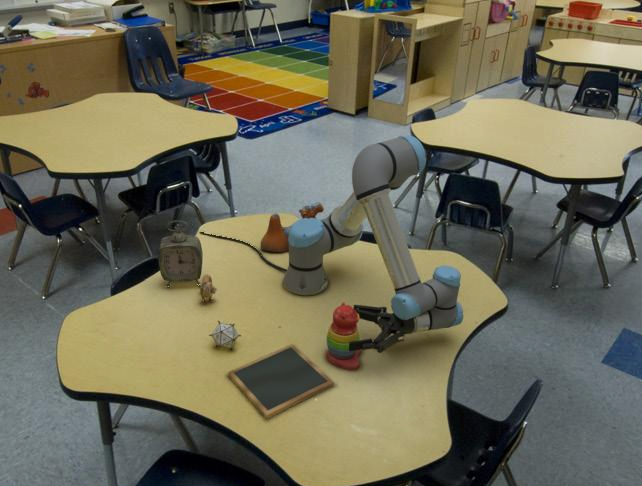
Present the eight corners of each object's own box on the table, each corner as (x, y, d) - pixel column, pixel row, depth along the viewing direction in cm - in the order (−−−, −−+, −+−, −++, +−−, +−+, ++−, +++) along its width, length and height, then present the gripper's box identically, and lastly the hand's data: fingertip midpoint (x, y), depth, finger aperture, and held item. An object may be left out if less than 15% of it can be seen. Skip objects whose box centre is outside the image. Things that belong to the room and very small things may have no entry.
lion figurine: (218, 307, 194) (217, 285, 189) (202, 310, 193) (200, 287, 188) (212, 284, 206) (210, 262, 202) (197, 286, 205) (195, 264, 201)
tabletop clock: (162, 291, 203) (153, 227, 190) (164, 277, 211) (156, 214, 198) (204, 289, 204) (198, 225, 191) (205, 275, 211) (199, 213, 198)
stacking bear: (359, 371, 166) (363, 320, 157) (323, 366, 168) (325, 316, 159) (361, 347, 175) (365, 298, 166) (328, 343, 177) (330, 294, 168)
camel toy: (260, 254, 223) (258, 213, 214) (261, 237, 235) (259, 198, 226) (325, 254, 223) (327, 213, 214) (323, 237, 234) (324, 197, 225)
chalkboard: (228, 375, 166) (228, 371, 165) (291, 347, 176) (291, 343, 175) (266, 419, 151) (266, 414, 150) (333, 385, 161) (333, 381, 161)
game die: (232, 352, 180) (250, 329, 177) (221, 361, 172) (240, 337, 169) (210, 333, 181) (228, 310, 178) (199, 341, 173) (217, 317, 170)
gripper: (428, 357, 162) (355, 370, 158) (391, 307, 183) (327, 317, 179) (431, 336, 158) (357, 348, 154) (393, 287, 179) (327, 297, 175)
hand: (341, 332), depth 166 cm, fingers open, 13 cm apart
